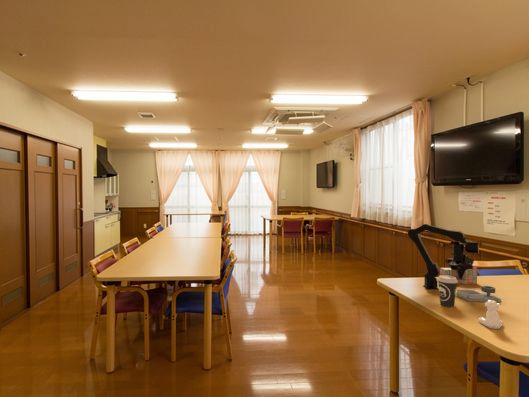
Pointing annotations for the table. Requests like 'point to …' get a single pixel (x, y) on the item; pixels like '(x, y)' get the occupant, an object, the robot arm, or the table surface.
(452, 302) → the coffee cup
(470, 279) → the stack of blocks
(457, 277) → the brown wooden block
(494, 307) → the sitting furry creature
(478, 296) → the light gray tray
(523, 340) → the table surface
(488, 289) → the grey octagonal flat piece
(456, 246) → the robot arm
